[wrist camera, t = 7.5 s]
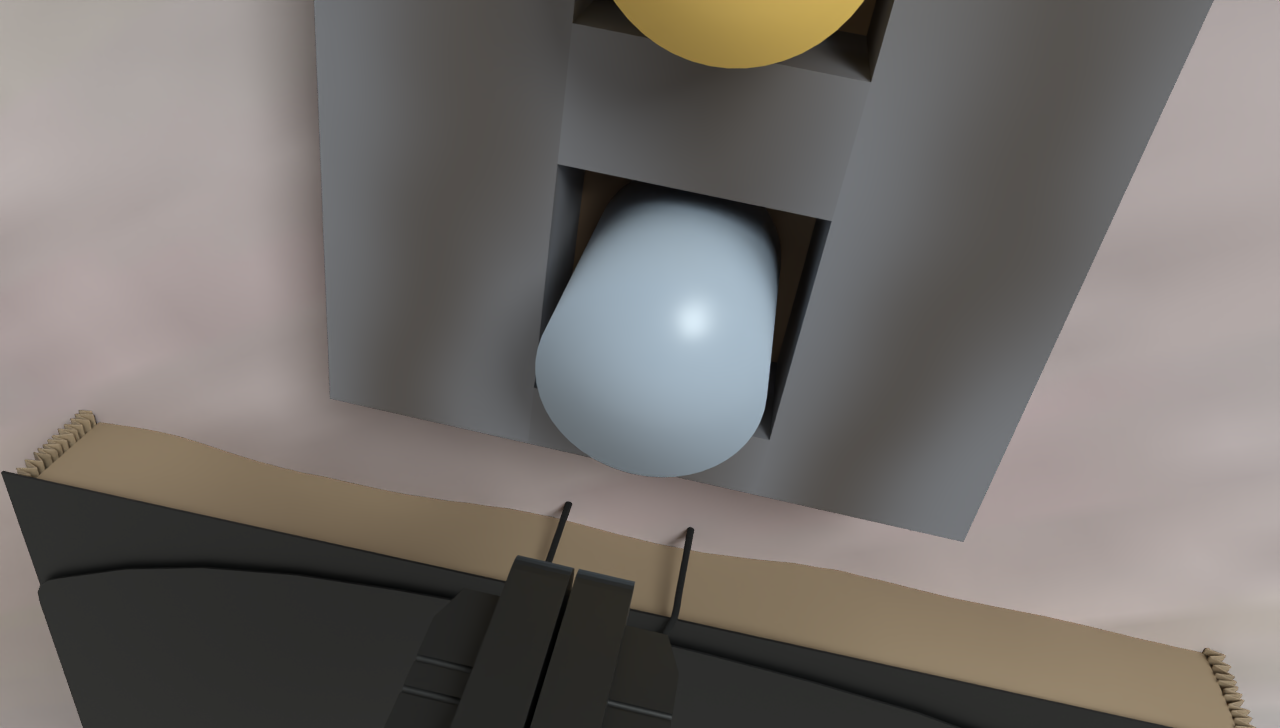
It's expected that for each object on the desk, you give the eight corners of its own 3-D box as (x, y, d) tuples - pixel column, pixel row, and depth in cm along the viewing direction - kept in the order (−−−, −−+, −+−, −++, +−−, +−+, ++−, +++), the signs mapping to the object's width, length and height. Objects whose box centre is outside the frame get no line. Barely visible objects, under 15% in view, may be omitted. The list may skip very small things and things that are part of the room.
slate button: (584, 315, 22) (525, 449, 18) (607, 148, 20) (545, 257, 16) (759, 353, 22) (740, 498, 18) (800, 189, 19) (792, 310, 15)
